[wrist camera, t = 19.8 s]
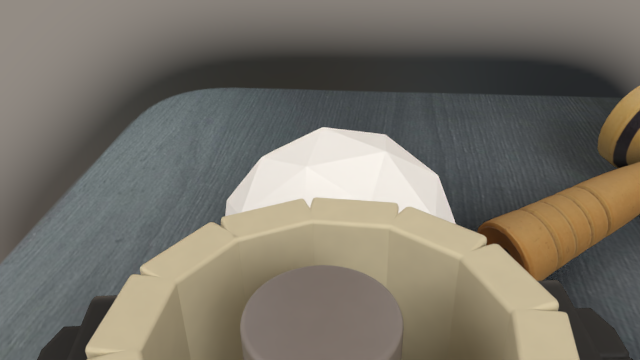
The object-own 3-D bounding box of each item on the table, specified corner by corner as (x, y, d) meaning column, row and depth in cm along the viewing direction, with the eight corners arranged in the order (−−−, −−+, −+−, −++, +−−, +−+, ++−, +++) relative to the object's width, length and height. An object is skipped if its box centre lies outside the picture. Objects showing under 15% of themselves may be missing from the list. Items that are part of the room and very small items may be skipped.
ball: (349, 337, 26) (424, 160, 25) (442, 447, 18) (550, 196, 18) (175, 284, 23) (255, 86, 23) (198, 386, 15) (320, 91, 15)
